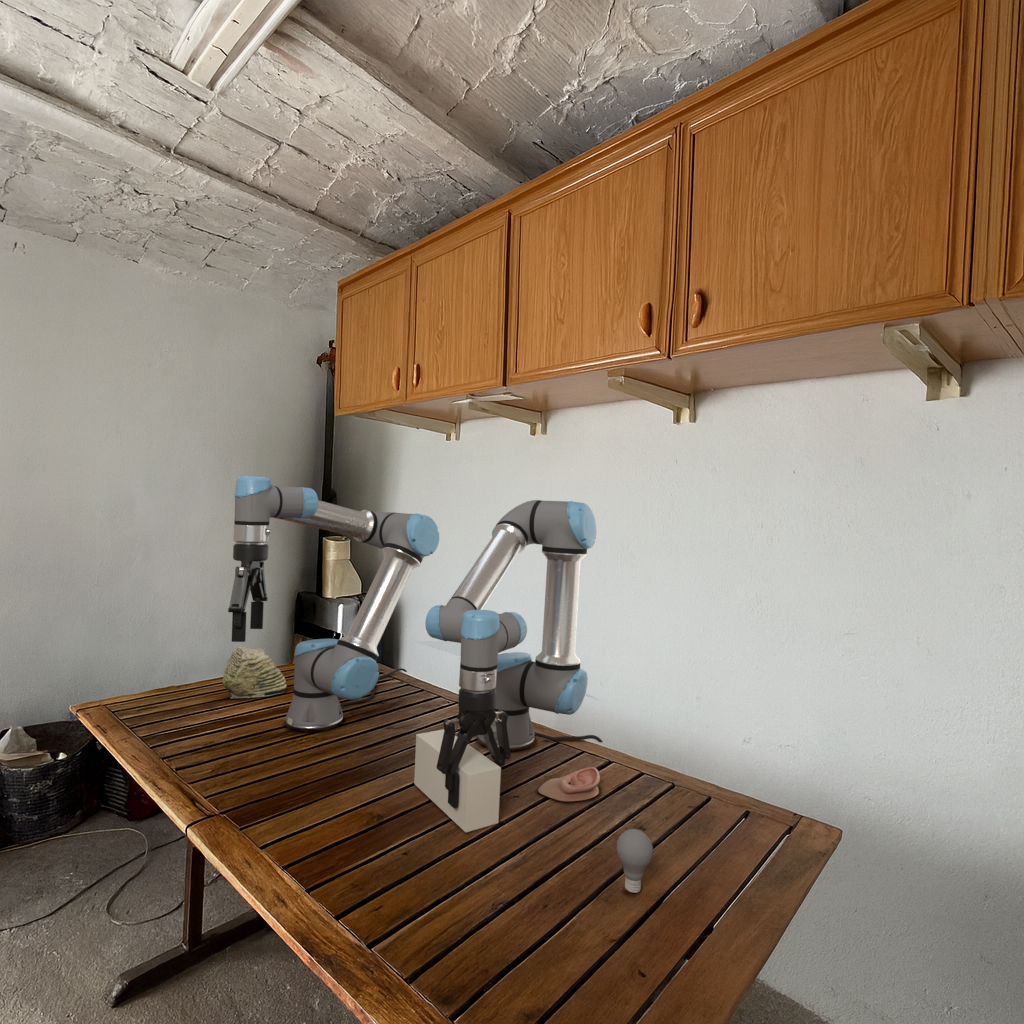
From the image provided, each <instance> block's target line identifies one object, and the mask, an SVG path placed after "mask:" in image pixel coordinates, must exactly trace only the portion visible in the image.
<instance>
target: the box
mask: <svg viewBox="0 0 1024 1024" xmlns="http://www.w3.org/2000/svg"><path fill="white" fill-rule="evenodd" d="M443 735H444V728H442V729H438V730H433V731H432V730H431V731H427V732H422V733H421V732H420V733H416V735H415V753H414V754H415V755H414V756H415V757H414V779H413V780H414V781H413V784H414V785H415V786H416V787H417V788H418V789H419V790H420V791H421V792H422V793H423V794H424V795H425V796H426V797H427V798H429V799H430V801H432V802H433V803H434V804H435V805H436V806H437V807H438V808H439V809H440V810H441V811H443V813H444V814H445V815H447V816H448V818H450V819H451V820H452V821H453V822H454V823H455V824H456V825H457V826H458V827H459V828H460V829H461V830H462V831H463V832H464V833H469V832H472V831H476V830H479V829H483V828H486V827H490V826H493V825H496V824H499V821H500V820H499V817H500V799H501V798H500V796H501V778H502V771H501V767H499V766H498V765H497V764H495V763H494V762H492V761H493V760H492V759H490V758H488V757H486V756H485V755H484V754H482V753H481V752H480V751H478V750H477V749H475V748H474V747H472V746H471V745H470V744H468V745H467V747H466V749H465V752H464V754H463V756H462V759H461V761H460V763H459V766H458V768H457V771H456V773H457V774H459V788H458V808H455V809H454V808H453V807H452V806H451V805H450V804H449V803H448V790H447V789H446V788H445V774H443V773H441V772H440V771H439V770H438V769H437V762H438V758H439V753H440V749H441V744H442V739H443ZM457 737H458V736H457V735H455V739H454V744H455V742H456V740H457ZM454 744H453V747H454ZM452 749H453V748H452ZM500 777H501V778H500Z"/></svg>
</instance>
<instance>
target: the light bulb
mask: <svg viewBox="0 0 1024 1024" xmlns="http://www.w3.org/2000/svg"><path fill="white" fill-rule="evenodd" d="M615 849H616V854H617V857H618V859H619V861H620V863H621V865H622V867H623V873H624V874H623V875H624V876H625V878H624V888H625V890H627V891H628V892H630V893H634V894H635V893H639V892H640V891H641V889H642V887H641V886H642V879H643V877H644V875H645V871H646V868H647V867H648V866H649V864H650V863H651V861H652V859H653V855H654V847H653V843H652V841H651V838H649V836H648V835H647V834H646V833H645V832H643V831H642V830H641V829H636V828H629V829H627V830H625V831H623V832H622V833H621V834H620V835H619V837H618V839H617V841H616V847H615Z"/></svg>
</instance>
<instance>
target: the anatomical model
mask: <svg viewBox="0 0 1024 1024" xmlns="http://www.w3.org/2000/svg"><path fill="white" fill-rule="evenodd" d="M600 781H601V776H600V772H599V769H597V767H593V766H589V767H585V768H581V769H578V770H575V771H573V772H571V773H569V774H567V775H564V776H561V777H555V778H550V779H548V780H547V781H545V782H543V783H542V784H541V785H540V786H539V787H538V789H537V792H538V793H539V794H540V795H542V796H544V797H547V798H548V799H549V798H550V799H552V800H555V801H558V802H578V801H586V800H590V799H592V798H595V797H596V796H598V795H599V794H600V789H599V786H598V785H599V783H600Z"/></svg>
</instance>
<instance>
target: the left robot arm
mask: <svg viewBox="0 0 1024 1024" xmlns="http://www.w3.org/2000/svg"><path fill="white" fill-rule="evenodd" d="M234 489H235V490H234V495H233V496H234V523H233V538H232V539H233V540H232V541H233V542H235V543H234V545H233V547H232V559H233V560H234V561H235V562H236V561H237V562H240V566H235V569H234V570H235V571H234V579H233V585H232V586H233V587H232V591H231V595H230V601H229V606H228V608H227V613H232V614H231V615H232V618H231V619H232V621H231V643H245V642H246V638H247V637H246V634H247V611H246V608H247V603H248V599H249V596H250V595H251V597H252V598H251V599H252V601H251V602H250V621H249V623H250V624H249V625H250V626H249V629H250V630H263V628H264V602H268V600H269V598H268V594H267V585H266V576H265V562H266V561H267V560H269V548H270V547H269V545H268V542H269V537H270V534H271V533H272V529H271V528H270V522H271V521H270V520H271V518H272V519H278V520H282V521H287V522H291V523H295V524H298V525H304V526H306V527H307V526H308V527H312V528H316V529H320V530H324V531H328V532H333V533H337V534H341V535H345V536H349V537H353V539H354V540H355V541H357V542H358V543H363V544H367V545H369V546H372V547H375V548H378V549H381V551H382V553H383V555H384V557H383V560H382V561H381V563H380V565H379V568H378V570H377V572H376V574H375V576H374V578H373V580H372V582H371V584H370V586H369V588H368V591H367V592H366V595H365V597H364V598H363V601H362V603H361V606H360V608H359V610H358V612H357V614H356V616H355V618H354V620H353V622H352V623H351V626H350V628H349V631H348V632H347V634H346V635H345V636H342V637H340V638H339V639H337V638H318V639H308V640H304V641H300V642H299V643H297V644H296V646H295V650H294V655H293V657H294V672H293V673H294V674H293V695H292V696H293V697H292V699H291V702H290V704H289V708H288V711H287V713H286V715H285V726H286V728H287V729H289V730H291V731H294V732H295V731H296V732H301V733H316V732H325V731H329V730H332V729H335V728H337V727H339V726H340V725H342V723H343V722H344V714H343V709H342V707H344V706H351V705H356V704H360V703H364V702H367V701H369V700H371V699H372V698H373V697H374V695H375V694H376V688H375V687H376V686H377V683H378V680H380V679H383V678H385V677H389V676H391V675H393V674H395V673H397V672H400V671H403V672H405V673H407V672H408V671H407V670H406V669H405V668H404V667H403V668H402V667H401V668H397V669H394V670H393V671H391V672H387V673H386V674H382V675H380V672H379V669H380V668H379V665H378V663H377V661H378V659H379V656H380V654H379V651H378V645H379V644H380V641H381V639H382V637H383V635H384V632H385V630H386V628H387V626H388V624H389V621H390V619H391V617H392V615H393V612H394V611H395V608H396V606H397V605H398V602H399V599H400V598H401V595H402V593H403V591H404V589H405V586H406V584H407V582H408V580H409V578H410V575H411V573H412V571H413V570H414V569H417V568H418V567H420V566H421V564H422V562H423V560H424V558H425V557H429V556H430V555H433V554H434V553H435V552H436V550H437V549H438V546H439V543H440V531H439V527H438V525H437V523H436V521H435V520H434V519H433V518H432V517H430V516H428V515H426V514H421V513H417V512H416V513H405V512H394V511H393V512H389V511H388V512H387V511H374V510H370V509H362V510H360V511H359V510H356V509H353V508H349V507H345V506H341V505H338V504H334V503H330V502H327V501H323V500H319V497H318V494H317V492H316V491H315V490H314V489H313V488H311V487H304V486H280V485H279V486H277V485H272V479H271V478H270V477H267V476H254V475H253V476H251V475H240V476H239V477H238V478H237V479H236V481H235V488H234ZM395 671H396V672H395ZM371 692H372V693H371ZM370 693H371V695H369V694H370ZM368 695H369V697H367V698H364V697H366V696H368ZM362 698H364V699H362ZM340 699H341V700H347V702H343V703H341V702H340Z"/></svg>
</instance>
